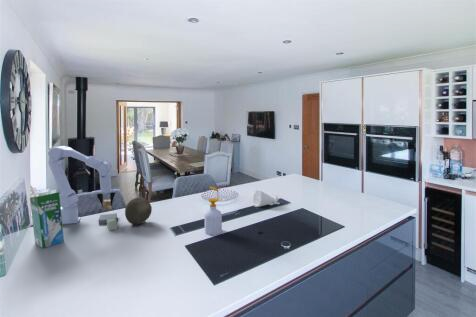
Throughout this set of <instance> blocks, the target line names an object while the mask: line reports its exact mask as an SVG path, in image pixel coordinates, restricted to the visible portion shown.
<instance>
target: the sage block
mask: <svg viewBox="0 0 476 317" xmlns="http://www.w3.org/2000/svg"><path fill="white" fill-rule="evenodd" d="M106 221H107V224H106V229H107V230H108V231H109V230H110V231H113V229H114V230H117V229H118V225H117V223H118V222H117V220H116V219H115V218H112V219H107V220H106Z"/></svg>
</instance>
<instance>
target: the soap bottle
mask: <svg viewBox="0 0 476 317" xmlns="http://www.w3.org/2000/svg"><path fill="white" fill-rule="evenodd" d="M209 189H210V190H213V191H216V193H217V194H219V189H218V188H217V187H214V186H211V185H210V186H209ZM208 202H209V203H210V204H209V209H207V210H206V211H205V212H204V213H203V214H204V218H203V219H204V233H205V234H206V235H209V236H217V235H220V234H221V233H222V231H223V221H222V220H223V219H222V218H223V216H222V212H221V210H219V209H218V208H217V204H216V202H219V196H217V197H216V198H208Z"/></svg>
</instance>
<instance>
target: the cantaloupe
mask: <svg viewBox="0 0 476 317" xmlns="http://www.w3.org/2000/svg"><path fill="white" fill-rule="evenodd" d="M152 209H153V208H152V205H151V202H149V200H148V199H146V198H144V197H135V198H133V199H130V200H129V201H128V202H127V204H126V206H125V209H124V216H125V219H126V221H127V222H128V223H129V224H131V225H133V226H139V225H142V224H143V223H146V222H145V221H148V219H149V217H151V214H152Z"/></svg>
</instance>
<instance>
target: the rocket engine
mask: <svg viewBox="0 0 476 317" xmlns="http://www.w3.org/2000/svg"><path fill="white" fill-rule="evenodd" d="M279 200H280V197H278V195H274V196H271V195H269V194H267V193H265V192H264V191H262V190H260V189H257V190H256V191H254V194H253V196H252V202H253V206H254V207H255V208H256V207H257V208H260V207H264V206H268V205H269V206H273V205H280V202H278V201H279Z"/></svg>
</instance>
